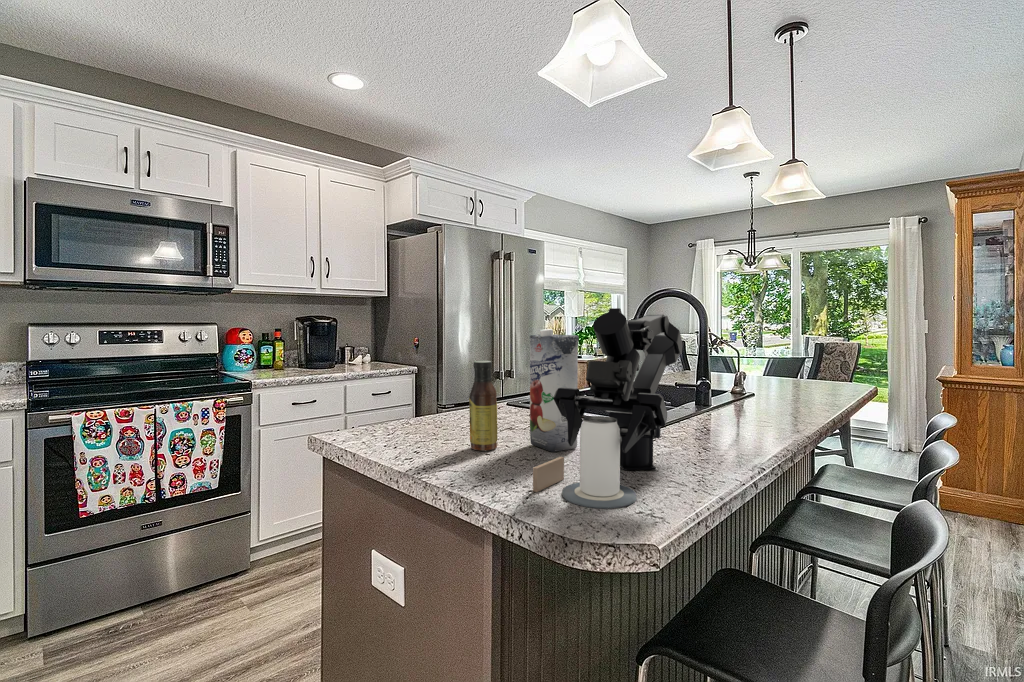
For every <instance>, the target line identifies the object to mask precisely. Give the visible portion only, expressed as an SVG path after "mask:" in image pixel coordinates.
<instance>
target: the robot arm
mask: <svg viewBox="0 0 1024 682" xmlns="http://www.w3.org/2000/svg"><path fill="white" fill-rule="evenodd" d="M592 324H593V325H592V328H593V331H594V333H595V335H596V340H597V342H598V345H599V348H600V350H601V353H602V355H606V356H607V357H606V359H605V361H602V360H589V361H588V363H587V365H588V366H587V370H586V375H585V376H586V377H585V381H586V382H589V384H590V387H589V389H590V392H591V393H592V394H594V397H593V396H584V395H583V396H582V393H581V391H580V389H579V388H578V389H575V388H558V389H557V390H556V392H555V395H554V397H553V399H554V401H555V403H556V405H557V407H558V409H559V411H560V413H561V415H562V416H564V417H566V419H567V424H568V443H569V445H570V446H572V445H573V444H574V442H575V440H576V438H577V439H578V436H579V434H580V428H581V425H582V423H583V416H584V415H585V412H586V410H596V411H605V412H608V417H612V418H616V419H617V424H618V426H619V428H620V469H621V470H623V471H640V470H641V471H643V470H644V471H646V470H647V471H648V470H651V471H653V470H655V471H656V469H657V466H656V465H655V464H654V439H660V438H661V428H663V427H665V426H666V425H667V420H668V411H667V406H666V401H665V398H664V397H663V396H662V394H660V393H656V391H657V390H658V388H659V385H660V382H661V379H662V378H663V374H664V373H665V369H666V368H667V367H668V366H670V365H673V364H675V363H676V362H677V361H678V359H679V357H680V355H682V354H683V347H684V346H683V339H682V335H681V332H680V330H679V328H677V327H676V326H675V325H673V323H671V321H670V319H669V317H668V315H665V314H656V313H655V314H646V315H644V316H643V317H641V318H637V319H628V320H627V318H626V316H625V315H624V314H623V313H622V309H621V307H620V308H618V307H616V308H615V307H614V308H609V309H608V312H606V313H603V314H601V315H600V316H598V317H597V318H596V319H595V320H594V321H593V323H592ZM639 351H642V352H643V353H644V359H643V362H642V363H641V366H640V360H641V356H640V353H639Z"/></svg>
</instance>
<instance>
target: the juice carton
mask: <svg viewBox="0 0 1024 682" xmlns="http://www.w3.org/2000/svg"><path fill="white" fill-rule="evenodd" d="M553 330H554V329H552V328H546V329H545V328H544V329H540V330H539V332H540V333H539V334H532V335H531V334H530V335H529V436H530V438H529V439H530V444H531V445H532V446H535V447H537V448H540V449H543V450H546V451H548V452H550V453H554V452H559V451H567V450H573V449H574V450H575V449H576V448H577V447H578V437H577V438H576V440H575V442H574V444H573V445H572V446H570V445H569V443H568V424H567V419H566V417H564V416H562V415H561V413H560V411H559V409H558V407H557V405H556V403H555V401H554V399H553V397H554V395H555V392H556V390H557V389H558V388H575V389H579V388H578V385H579V383H578V382H579V381H578V380H579V379H578V378H579V377H578V376H579V375H578V368H579V367H578V364H579V363H578V355H579V354H578V352H579V351H578V349H579V337H580V336H579V335H576V334H574V335H573V334H554V331H553Z"/></svg>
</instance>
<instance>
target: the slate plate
mask: <svg viewBox="0 0 1024 682" xmlns="http://www.w3.org/2000/svg"><path fill="white" fill-rule="evenodd" d="M561 491H562V492H561V495H562V498H563V499H564V500H566V501H567V502H569V503H571V504H573V505H577V506H580V507H583V508H584V507H586V508H590V509H591V508H592V509H618V508H625V507H627V506H631V505H633V504H634V503H635V502H636V501H637V493H636V491H635V490H634V489H632V488H631V487H628V486H625V485H622V484H620V490H619V492H618V493H617V494H616V495H615V496H612V497H593V496H589V495H586V494H584V493H583V492H582V491H581V490H580V481H579V482H575V483H571V484H568V485H566V486H564V487H563V489H562V490H561Z"/></svg>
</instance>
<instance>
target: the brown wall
mask: <svg viewBox="0 0 1024 682" xmlns="http://www.w3.org/2000/svg"><path fill="white" fill-rule="evenodd" d="M563 480H565V457H564V456H558V457H556V458H553V459H552V460H551V459H550V460H549V461H546V462H544V463H541V464H539V465H536V466H534V467H532V492H535V493H538V492H541V491H542V490H545V489H547V488H549V487H551V486H552V485H555V484H556V483H560V482H561V481H563Z"/></svg>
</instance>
